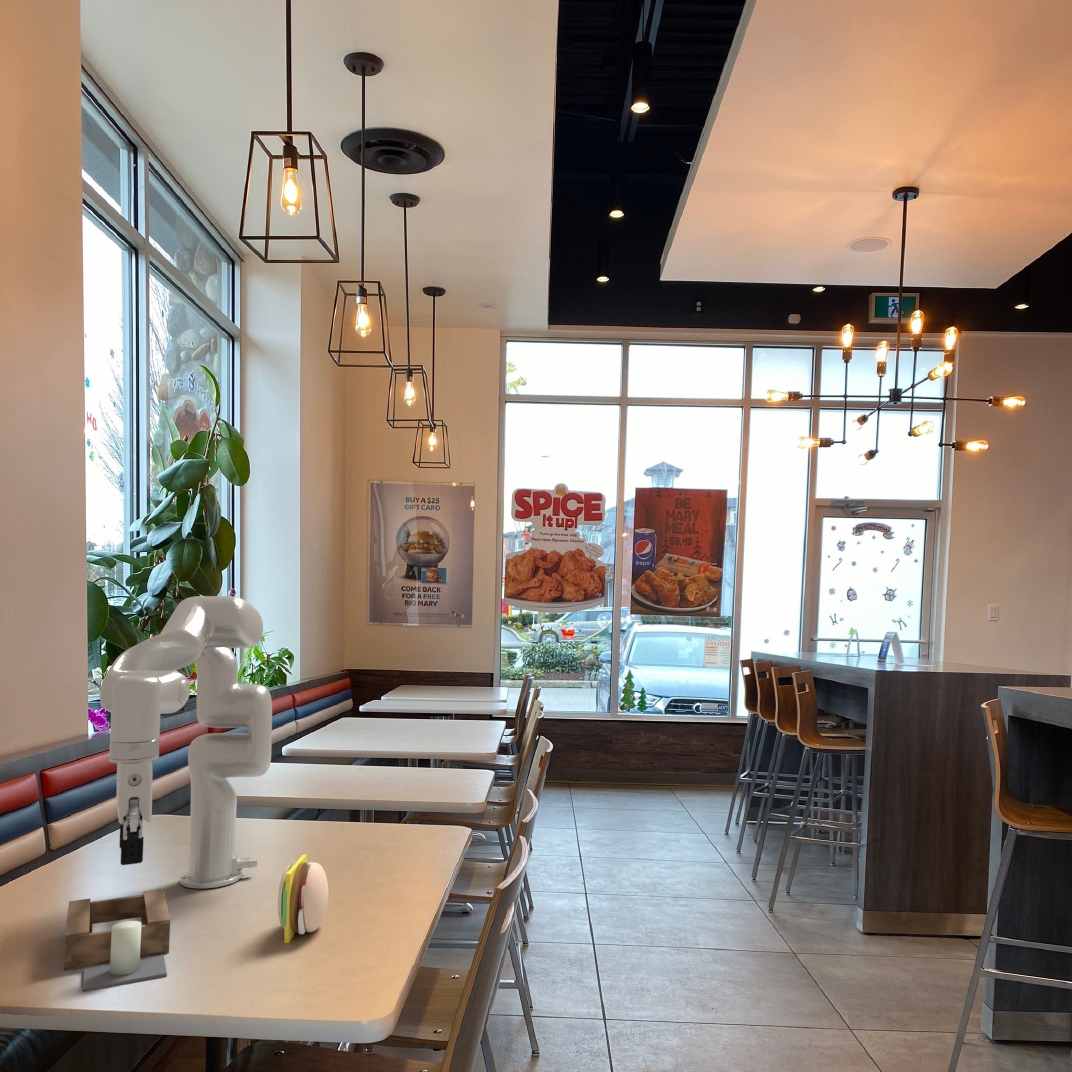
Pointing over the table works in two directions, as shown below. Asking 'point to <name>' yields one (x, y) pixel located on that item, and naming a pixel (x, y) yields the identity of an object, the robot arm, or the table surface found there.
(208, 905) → the table surface
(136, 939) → the sage cylinder
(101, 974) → the rubber mat
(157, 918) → the walnut box
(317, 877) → the hamburger
